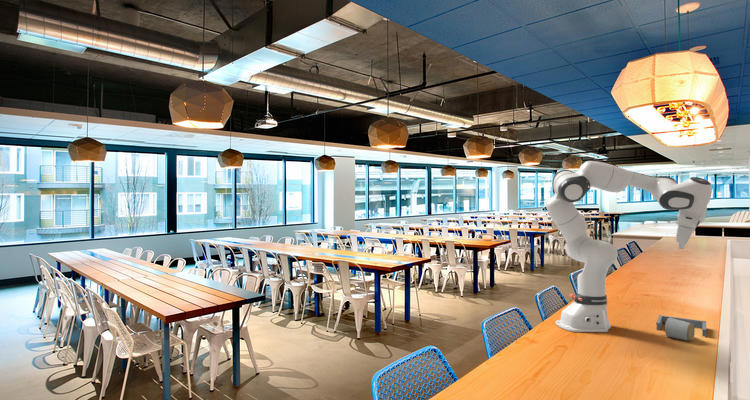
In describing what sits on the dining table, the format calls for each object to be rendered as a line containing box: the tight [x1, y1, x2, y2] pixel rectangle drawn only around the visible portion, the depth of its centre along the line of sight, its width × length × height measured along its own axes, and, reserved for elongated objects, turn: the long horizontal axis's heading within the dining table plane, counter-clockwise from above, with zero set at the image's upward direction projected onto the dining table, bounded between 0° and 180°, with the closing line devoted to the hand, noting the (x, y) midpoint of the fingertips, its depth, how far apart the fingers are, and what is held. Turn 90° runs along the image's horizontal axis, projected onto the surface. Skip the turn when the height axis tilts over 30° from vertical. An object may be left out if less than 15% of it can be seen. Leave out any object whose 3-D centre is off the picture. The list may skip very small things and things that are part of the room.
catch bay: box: [655, 314, 707, 338], centre depth 169 cm, size 14×16×3 cm
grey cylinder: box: [664, 318, 696, 342], centre depth 159 cm, size 11×8×8 cm
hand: (683, 243), depth 169 cm, fingers open, 8 cm apart
